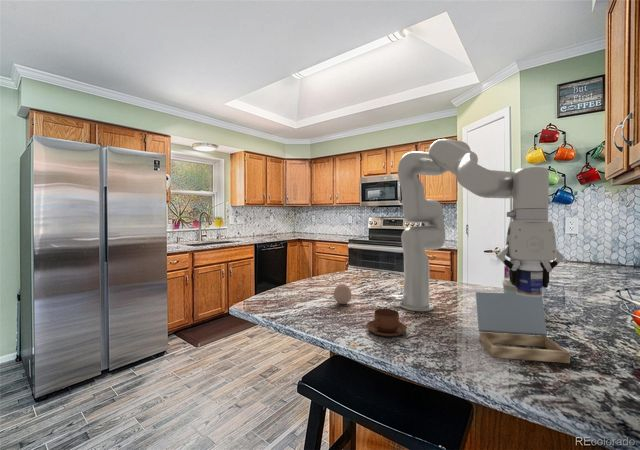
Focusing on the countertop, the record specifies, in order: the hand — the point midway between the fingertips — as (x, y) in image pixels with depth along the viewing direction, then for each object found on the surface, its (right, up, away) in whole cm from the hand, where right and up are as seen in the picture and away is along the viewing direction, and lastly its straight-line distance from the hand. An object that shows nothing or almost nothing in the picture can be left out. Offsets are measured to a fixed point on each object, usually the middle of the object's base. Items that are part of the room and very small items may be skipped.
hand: (528, 285), depth 77 cm
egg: (-45, -17, +44) cm, 65 cm away
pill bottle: (0, -3, 0) cm, 3 cm away
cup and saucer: (-34, -18, +15) cm, 41 cm away
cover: (0, -9, +7) cm, 12 cm away
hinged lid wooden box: (-2, -17, +1) cm, 18 cm away
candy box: (+25, -16, +42) cm, 51 cm away
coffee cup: (+18, -17, +33) cm, 41 cm away
